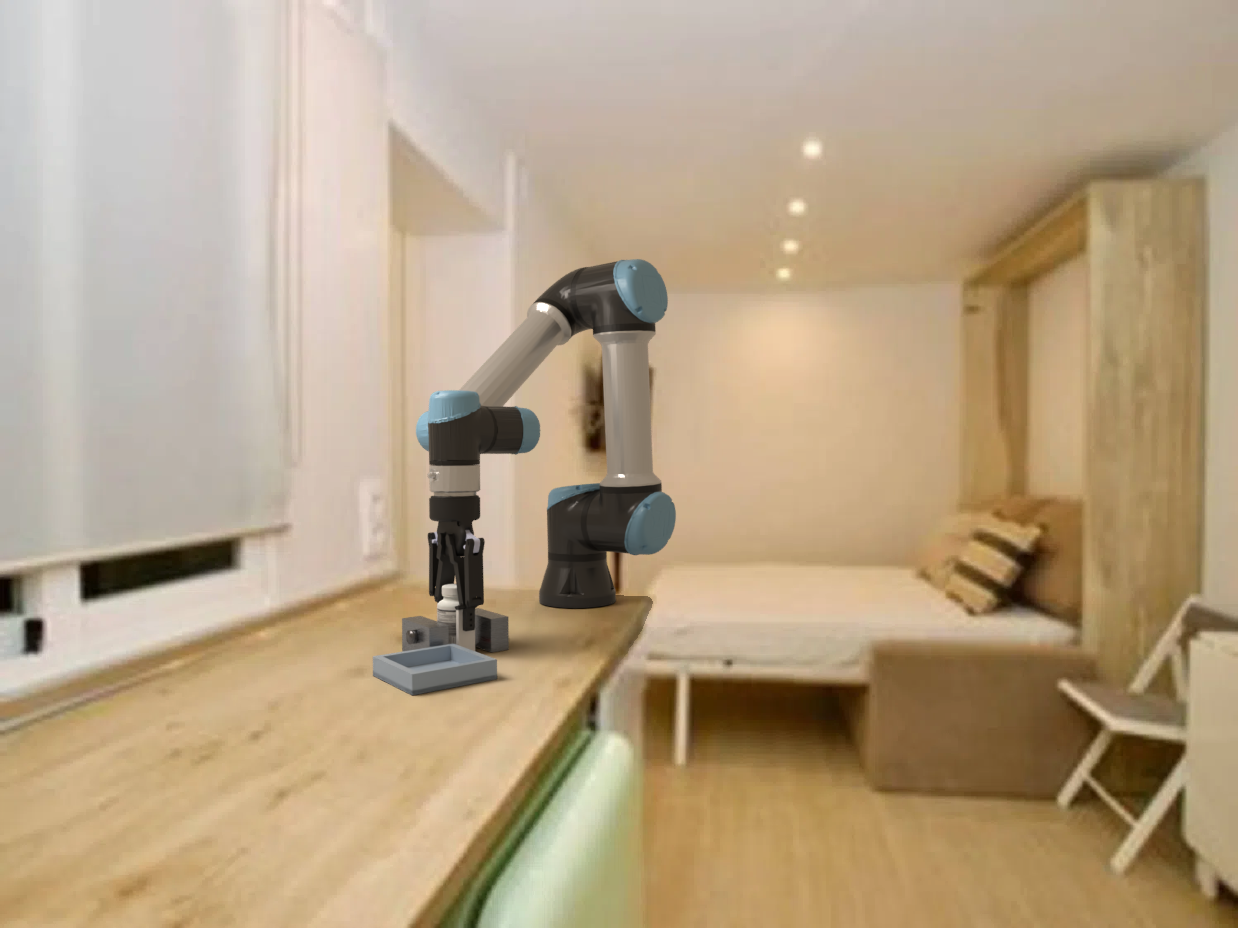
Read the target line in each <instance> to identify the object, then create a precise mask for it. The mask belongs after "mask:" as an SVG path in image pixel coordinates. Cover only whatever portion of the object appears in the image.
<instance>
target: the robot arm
mask: <svg viewBox="0 0 1238 928" xmlns="http://www.w3.org/2000/svg"><path fill="white" fill-rule="evenodd" d="M668 299H669V297H668V289H667V287H666V284H665V281H664V278H663V276H662V275H661V274H660V272H658V269H657V268H656V267H655V266H654V265H653V264H652V263H651V262H649V261H647V260H644V259H642V258H641V259H640V258H635V259H620V260H617V261H613V262H612V261H611V262H607V263H602V264H596V265H592V266H585V267H579V268H577V269H574V270H572V271H569V273H566V274H565V275H563V276H562V277H560V278H559V279H558V280H556V281H555V282H554V283H553V284H552V285H550V286H549V287H547V288H546V290H545V291H544V292H542V294H541V295H539V296H538V298H537V299H535V301H534V302H533V303H531V305H530V306H529V307H528V309H527V312H526V318H525V319H524V320H523V322H521V324H520V325H519V326H517V328H516V329H515V330H514V331H513V332H512V333H511V334H510V335H509V336H508V337H507V338H506V339H505V341H504V342H503V343H502V344H501V345H500V346H499V347H498V348H497V349H496V350H495V351H494V352H493V353H492V355H491V356H490V357H489V358H488V359H487V360H486V361H485V362H484V363H483V364H482V365H481V366H480V367H479V369H477V370H476V372H474V373H473V375H472V376H471V377H470V378H469V379H467V381H466V382H465V383H463V385H462V386H461V387H460V389H458V390H455V389H453V390H452V389H451V390H449V389H447V390H436V391H434V392H433V393H432V394H430V396H429V401H428V411H425V412H423V413H422V414H421V415H420V416H419V418H418V419H417V422H416V424H415V425H416V426H415V436H416V438H417V442H418V443H419V445H420V446H421V447H422V448H423V450H425V451H427V452H428V457H429V458H428V465H429V472H428V473H427V478H428V479H429V491H430V492H431V493H433V495H431V496H430V497H429V498H428V500H429V501H428V507H429V508H428V509H429V511H428V512H429V519H430V520H431V521H432V522H433V521H434V522H438V523H437V528H436V531H434V532H431V531H430V532H428V533H427V541H428V542H427V543H428V551H429V552H428V594H429V595H428V596H430V597H433V598H434V599H433V600H434V601H435V603H436V608H437V607H438V603H439V602H440V601H441V600H443V598H444V596H442V586H443V585H447V584H456V585H457V593H458V600H459V605H458V606H455V609H456V645H459V646H462V647H464V648H467V649H470V650H473V651H475V652H476V647H475V609H476V608H478V607H479V606H483V605H484V603H485V591H484V590H485V589H484V587H485V586H484V585H485V584H484V549H485V543H486V541H485V539H484V537H476V536H475V532H474V531H475V530H474V527H473V522H474V521H477V520H479V519H480V518H481V497H480V496H479V495H478V494H477V492H480V491H481V455H487V454H488V455H517V456H518V455H519V454H527V453H529V452H531V451H533V450H534V449H535V448H536V446H537V445H538V444H539V441H540V438H541V423H540V420H539V418H538V416H537V415H536V413H535V412H534V411H533V410H531V409H529V408H527V407H519V406H517V405H514V406H505V405H506V403H508V402H509V400H510V399H511V397H513V396H514V394H515V393H516V392H517V391H518V390H519V389H520V388H521V387H522V385H523V384H524V383H526V381H527V380H529V378H530V376H532V375H533V373H534V372H535V371H536V370H537V369H538V368H539V366H541V364H542V363H543V362H544V361H545V360H546V359H547V357H548V356H550V354H551V353H552V352H553V351H554V350H555V348H556V347H557V346H562V345H563V346H564V345H565V344H566V343H568V342H569V341H570V340H571V338H572V337H574V336H575V335H577V334H579V333H582V332H584V331H588V330H592V337H593V338H594V339H595V340H596V341H597V342H598V343H599V344H600V345H601V346H600V347H601V358H602V359H601V361H602V362H601V363H602V384H603V385H602V386H603V405H604V406H603V407H604V408H603V409H604V430H605V433H604V435H605V453H606V454H605V456H606V458H605V459H606V475H605V476H604V477H603V478H602V480H601V481H600V482H596V483H585V484H582V483H581V484H574V485H566V486H560V487H555V488H553V489H551V490H550V491H549V492H548V495H547V507H546V520H547V521H546V522H547V523H546V525H547V526H546V527H547V530H546V531H547V565H546V568H545V571H544V575H543V578H542V581H541V585H540V588H539V591H538V601H539V604H541V605H543V606H546V607H547V606H548V607H553V608H566V609H567V608H568V609H582V608H583V609H585V608H586V609H587V608H597V607H605V606H609V605H612V604H615V603H616V602H617V595H616V594H617V593H616V592H617V591H616V588H615V585H614V581H613V578H612V574H611V571H610V569H609V566H608V562H607V561H608V560H607V559H608V557H607V556H608V553H609V552H610V553H619V554H628V555H633V556H638V555H642V556H643V555H646V556H647V555H650V556H651V555H654V554H657V553H659V552H660V551H661V550H663V549H664V548H665V547H666V545H667V544H668V542H669V540H670V539H671V538H672V535H673V533H674V529H675V526H676V522H677V521H676V520H677V512H676V506H675V503H674V502H673V499H672V497H671V496H670V495H668V494H667V493H665V492H663V486H662V480H661V479H660V478H659V477H658V476H657V475H656V474H655V473H654V465H653V441H652V435H653V434H652V417H651V416H652V415H651V414H652V412H651V390H650V389H651V387H650V368H649V367H650V365H649V343H650V342H651V340H652V339H653V337H655V336H656V334H657V331H656V323H658V322H659V321H661V320H662V319H663V318H664V317H665V315H666V311H667V310H668V301H669V300H668ZM607 552H608V553H607ZM455 582H456V583H455ZM436 621H438V615H437V614H436Z"/></svg>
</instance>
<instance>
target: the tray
mask: <svg viewBox="0 0 1238 928" xmlns="http://www.w3.org/2000/svg"><path fill="white" fill-rule="evenodd" d="M372 676H373V677H375V678H377V679H379V680H381V681H382V682H384V683H387V684H389V685H391V686H392V687H394V688H397V689H398V690H400V691H402V692H404V693H407V694H409V695H410V696H417V695H422V694H426V693H427V694H428V693H432V692H437V691H438V692H439V691H444V690H448V689H452V688H459V687H463V686H469V685H473V684H480V683H483V682H489V681H494V680H498V659H497V658H494V657H492V656H489V655H486V654H483V653H480V652H478V651H476V650H475V651H473V650H470V649H467V648H464V647H462V646H459V645H456V644H448V645H441V646H435V647H429V648H422V649H416V650H410V651H403V652H402V651H398V652H391V653H386V654H379V655H373V656H372Z"/></svg>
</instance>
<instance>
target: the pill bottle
mask: <svg viewBox="0 0 1238 928" xmlns="http://www.w3.org/2000/svg"><path fill="white" fill-rule="evenodd" d="M442 596H444V598H443V600H441V601H440V602H439V603H438V607H437V606H436V616H437V615H438V622H441V623H444V624H447V625H448V626H449V644H456V609H455V606H458V605H459V600H458V593H457V585H456V583H454V584H447V585H443V586H442Z"/></svg>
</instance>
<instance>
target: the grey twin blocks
mask: <svg viewBox="0 0 1238 928" xmlns="http://www.w3.org/2000/svg"><path fill="white" fill-rule="evenodd" d="M509 632H510V631H509V616H507V615H504V614H501V613H498V612H494V611H490V610H487V609H483V608H480V607H476V608H475V648H477V649H480V650H484V651H485V652H489V653H497V652H502V651H509V638H510V637H509V636H510V635H509ZM448 644H449V626H448V625H447V624H444V623H441V622H438V621H437V620H435V619H431V618H428V617H425V616H422V615H416V616H408V617H402V618H401V648H402V651H401V652H403V651H410V650H416V649H422V648H429V647H435V646H441V645H448Z"/></svg>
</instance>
